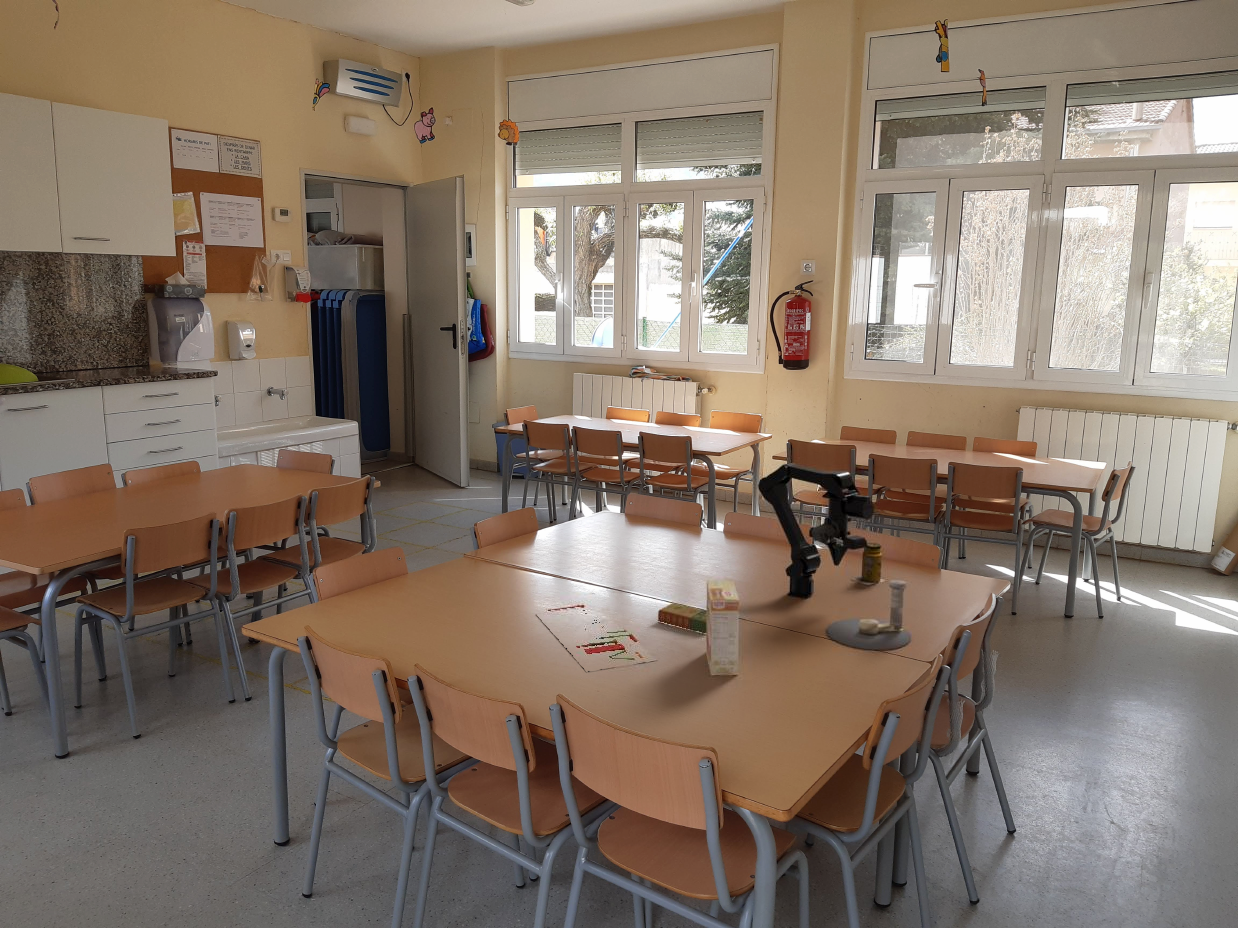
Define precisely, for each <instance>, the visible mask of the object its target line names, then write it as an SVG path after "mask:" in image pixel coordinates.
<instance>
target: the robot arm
mask: <svg viewBox="0 0 1238 928" xmlns="http://www.w3.org/2000/svg"><path fill="white" fill-rule="evenodd" d="M792 479H794V480H798V481H802V482H807V483H811V484H814V485H818V486H820V487H821V488H822V489H823V490H825V491H826V492H825V493H824V494H823V495H822V496H821V498H824V499H828V509H827V511H828V512H827V513H828V514H827V516H825V517H824V521H823V523H822V524H819V525H818V526H811V527H810V529H809V530H808V531H809V532H808V533H809V534H808V537H810V538H813V541H814V542H820V543H821V544H824V545H825V546H826V547H827V548H828V550H829V553H830V556H831V559H832V562H833V565H834V566H839V565H840V563H841V561H842V559H843V558H844V556H845V554H846V552H847V551H848V550H850V551H853V550H855V551H856V550H859V549H864V548H865V547H867V543H868V541H867V539H866V537H863V536H860V535H851V533H852V532H851V531H849V529H848V528H849V527H848V525H849V522H851V521H852V518H855V519H860V520H864V521H869V520H870V519H871V518H872V517H873V515H874V512H875V506H874V504H873V502H872V500H871V496H870V495H861V493H860V491H859V489H858V488H857V486H856V484H855V483H854V481H853V478H852V476H851V473H850V472H848V471H846V470H845V471H844V470H832V471H831V470H830V471H827V470H825V471H824V470H821V469H816V468H813V467H812V468H811V467H807V466H803V465H799V464H796V463H793V462H789V463H783V464H782V465H780V466H779V467H778V468H777V469H776V470H774V471H773V472H771V473H769V474H768V475H766V476H764V477H762V478H761V479H760V480H759V482H758V484H757V489H758V491H759V493H760V494H761V496H762V498H763V499H764V500H765V501H766V502H767V503H769V505H771V506H772V508H773V510H774V513H775V514H776V516H777V519H778V521H779V523H780V526H781V528H782V530H783V533H784V535H785V537H786V539H787V541H788V544H789V546H790V560H791V563H790V565H788V567H786V568H785V574H786V576H787V577H789V591H788V592H787V596H793V597H798V598H806V599H807V598H809V597H810V596H811V595H813V594H814V593H815V592H814V591H815V590H814V586H815V584H814V583H815V581H814V579H813V575H815V574H816V572H817V570H818V569H819V568H820V566H821V563H822V560H821V553H819V551H818V547H817V546H816V544H814V543H813V544H810V543H809V542H808V541H807V540H806V538H805V536H804V533H803V532H802V530H801V527H800V525H799V522H798V521H797V518H796V516H795V514H794V512H793V510H792V507H791V505H790V504H789V500H788V487H787V485H788V484H789V483H790V482H792ZM850 535H851V536H850Z"/></svg>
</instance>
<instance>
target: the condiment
mask: <svg viewBox="0 0 1238 928" xmlns="http://www.w3.org/2000/svg"><path fill="white" fill-rule="evenodd" d="M881 548H882V545H881V544H880V543H875V542H867V547H865V548H863V552H862V558H861V559H862V561H861V562H862V563H861V576H858V577H854V578H852V580H853V581H855V582H857V583H860V584H864V585H868V586H871V585H875V584H878V583H883V582H887V580H886V579H883V578H882V576H881V575H882V559H883V558H882V557H883V555H882V549H881ZM877 582H878V583H877Z"/></svg>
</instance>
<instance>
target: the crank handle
mask: <svg viewBox="0 0 1238 928" xmlns="http://www.w3.org/2000/svg"><path fill="white" fill-rule="evenodd" d="M889 588H890V589H891V596H890V598H891V599H890V616H889V617H890V618H889V620H890V621H889V623H884V624H879V622H878V621H876V620H877V619H874V618H873V619H874V620H873V619H872V618H861V619H862V620H860V621H859V631H860V632H861V633H864V634H877V633H878V632H884V631H897V630H900V629H902V628H903V619H904V618H903V616H904V601H905V600H904V599H905V597H904V595H905V589H907V581H903V580H901V579H899V580H898V579H894V580H893V579H892V580H890V581H889Z"/></svg>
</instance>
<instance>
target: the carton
mask: <svg viewBox="0 0 1238 928" xmlns="http://www.w3.org/2000/svg"><path fill="white" fill-rule="evenodd" d="M657 613H658V615H657V618H658V619H657V621H660V622H664V623H667V624H671V625H675V626H679V627H682V628H686V629H690V630H693V631H699V632H702V633H707V609H706V610H705V609H700V608H696V607H693V606H687V605H683V604H680V603H675V602H673V603H670V604H669V605H666V606H664V607H662V608H661V609H659V610H658V612H657ZM693 631H692V632H693Z"/></svg>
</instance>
